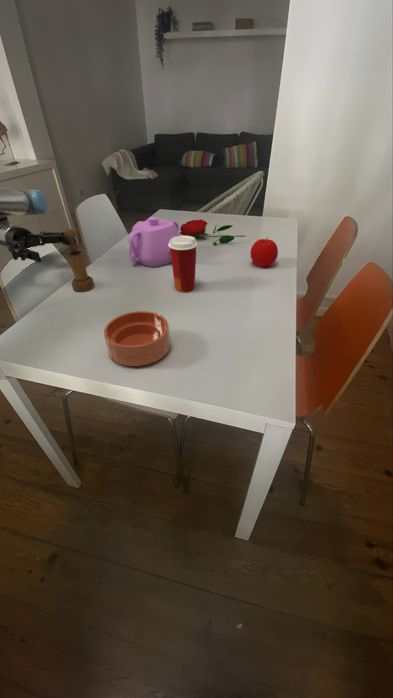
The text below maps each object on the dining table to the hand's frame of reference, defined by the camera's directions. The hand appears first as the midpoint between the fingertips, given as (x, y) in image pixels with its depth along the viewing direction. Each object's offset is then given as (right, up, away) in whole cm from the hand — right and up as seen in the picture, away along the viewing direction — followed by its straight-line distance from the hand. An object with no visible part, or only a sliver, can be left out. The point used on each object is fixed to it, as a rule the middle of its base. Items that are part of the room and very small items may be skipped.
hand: (58, 249), depth 97 cm
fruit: (+66, -1, +14) cm, 67 cm away
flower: (+49, +13, +33) cm, 61 cm away
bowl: (+29, -30, -23) cm, 48 cm away
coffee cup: (+39, -12, +1) cm, 41 cm away
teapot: (+29, +3, +20) cm, 35 cm away
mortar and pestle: (+7, -11, +3) cm, 13 cm away
